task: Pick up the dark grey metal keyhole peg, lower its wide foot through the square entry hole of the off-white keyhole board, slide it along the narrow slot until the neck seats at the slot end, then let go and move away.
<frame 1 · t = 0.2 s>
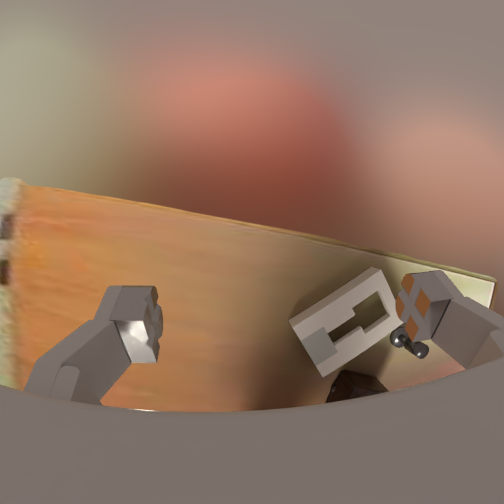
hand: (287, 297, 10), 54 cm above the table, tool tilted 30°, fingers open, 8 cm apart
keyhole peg: (398, 336, 67), on the table
keyhole board: (344, 319, 66), on the table
manual coffee grinder: (345, 398, 68), on the table
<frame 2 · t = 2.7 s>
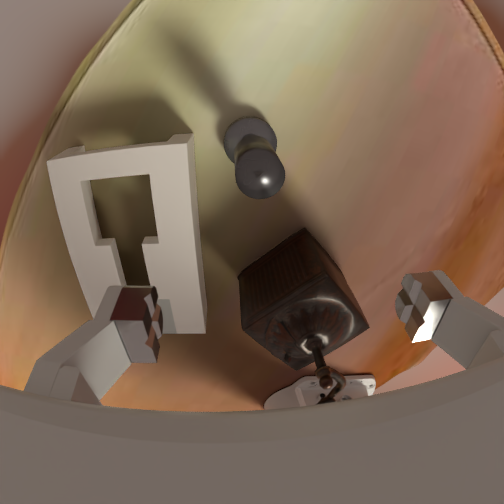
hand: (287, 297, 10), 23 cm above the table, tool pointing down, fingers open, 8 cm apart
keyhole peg: (249, 140, 29), on the table
keyhole board: (140, 233, 34), on the table
manual coffee grinder: (302, 289, 40), on the table
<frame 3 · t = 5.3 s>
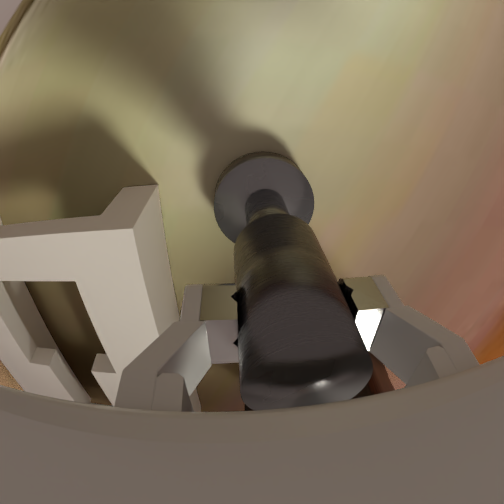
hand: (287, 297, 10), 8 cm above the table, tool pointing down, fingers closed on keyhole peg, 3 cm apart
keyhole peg: (262, 196, 16), on the table, touching gripper
keyhole board: (96, 330, 21), on the table
manual coffee grinder: (329, 385, 27), on the table
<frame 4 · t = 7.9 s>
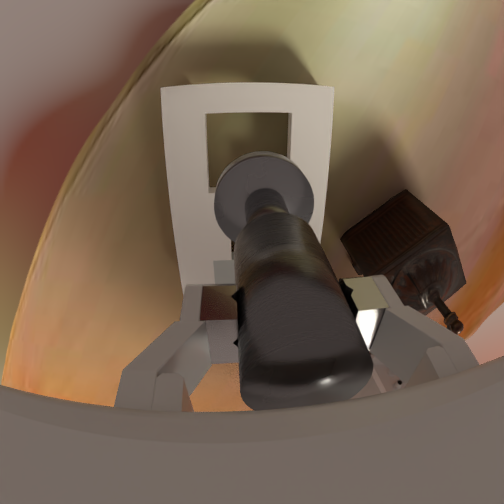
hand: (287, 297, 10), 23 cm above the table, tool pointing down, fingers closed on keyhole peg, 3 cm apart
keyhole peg: (262, 196, 16), point 15 cm above the table, touching gripper
keyhole board: (245, 188, 32), on the table
manual coffee grinder: (394, 253, 38), on the table
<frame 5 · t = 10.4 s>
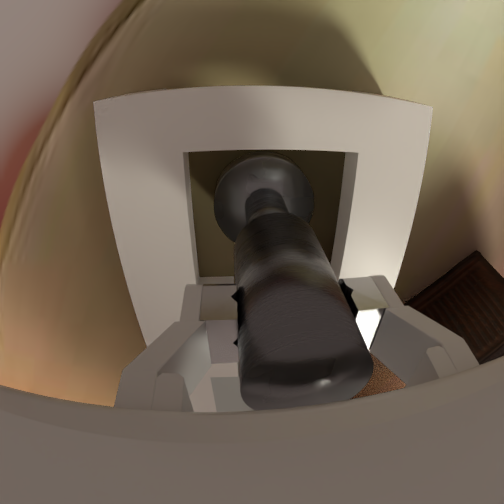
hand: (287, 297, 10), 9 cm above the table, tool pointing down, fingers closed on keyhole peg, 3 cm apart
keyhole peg: (262, 196, 16), point 1 cm above the table, touching gripper
keyhole board: (259, 261, 20), on the table
manual coffee grinder: (446, 324, 26), on the table
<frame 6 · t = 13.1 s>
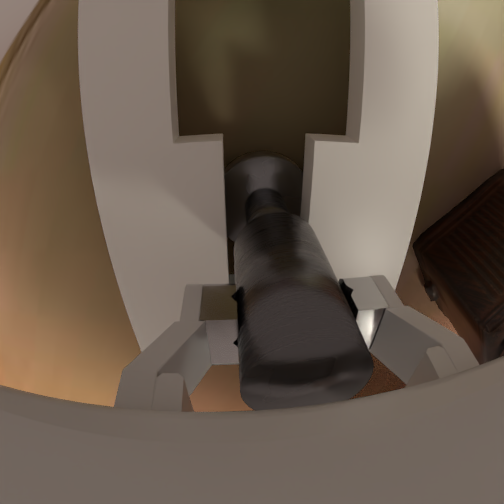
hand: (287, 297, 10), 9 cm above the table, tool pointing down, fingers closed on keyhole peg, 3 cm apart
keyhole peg: (262, 196, 16), point 1 cm above the table, touching gripper
keyhole board: (257, 148, 16), on the table
manual coffee grinder: (474, 265, 22), on the table
when the fingers open (8 cm above the table, at t = 15.5 s): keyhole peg stays where it is, resting on keyhole board.
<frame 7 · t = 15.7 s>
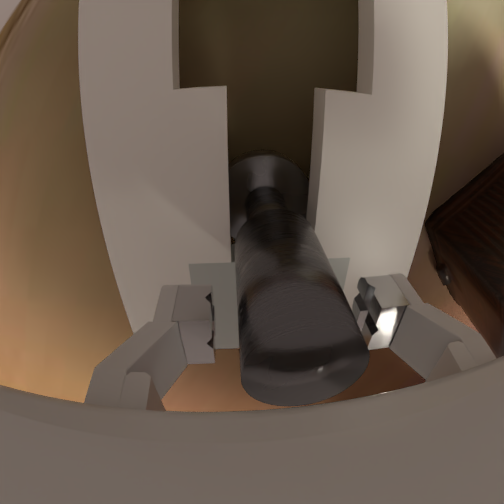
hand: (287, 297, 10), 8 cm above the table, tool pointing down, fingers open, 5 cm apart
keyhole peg: (262, 194, 17), resting on keyhole board
keyhole board: (261, 112, 14), on the table
manual coffee grinder: (486, 250, 20), on the table
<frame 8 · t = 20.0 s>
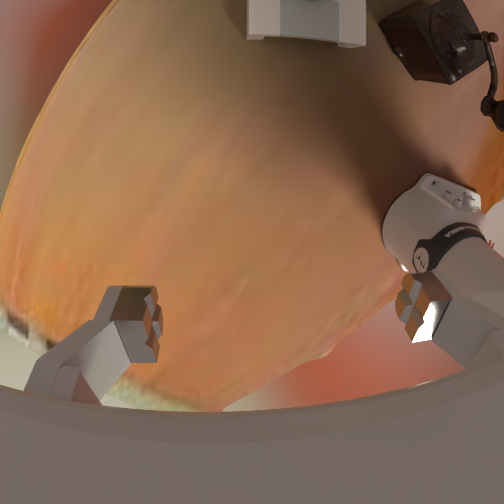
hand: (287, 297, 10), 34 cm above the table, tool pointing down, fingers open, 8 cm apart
manual coffee grinder: (425, 53, 33), on the table
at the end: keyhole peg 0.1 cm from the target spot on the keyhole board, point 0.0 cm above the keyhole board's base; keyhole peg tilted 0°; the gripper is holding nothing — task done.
